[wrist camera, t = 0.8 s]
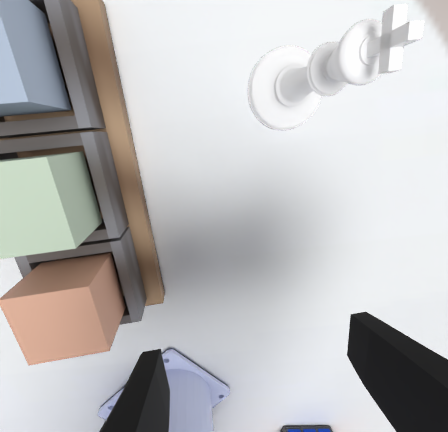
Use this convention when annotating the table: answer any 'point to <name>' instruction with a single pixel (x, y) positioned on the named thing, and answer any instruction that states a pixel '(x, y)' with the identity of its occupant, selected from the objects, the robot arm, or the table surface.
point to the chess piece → (328, 68)
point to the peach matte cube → (65, 308)
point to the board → (93, 150)
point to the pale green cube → (45, 204)
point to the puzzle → (307, 429)
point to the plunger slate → (28, 62)
